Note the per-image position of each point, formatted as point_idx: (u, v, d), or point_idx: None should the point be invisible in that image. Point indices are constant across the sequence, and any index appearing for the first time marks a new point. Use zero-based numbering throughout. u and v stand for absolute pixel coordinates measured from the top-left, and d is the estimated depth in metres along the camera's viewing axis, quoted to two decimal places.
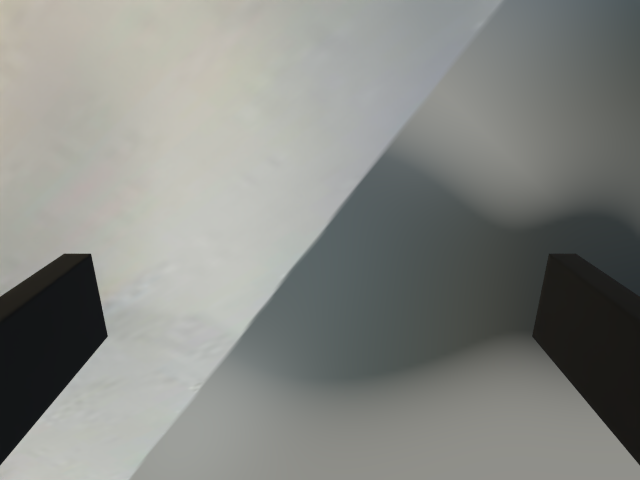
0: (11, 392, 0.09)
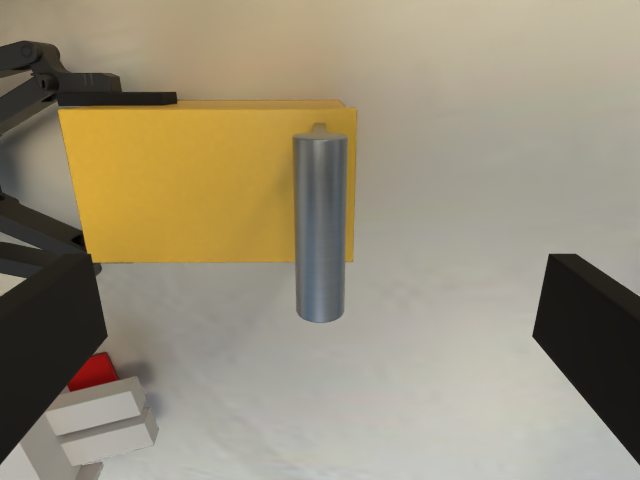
0: (11, 392, 0.09)
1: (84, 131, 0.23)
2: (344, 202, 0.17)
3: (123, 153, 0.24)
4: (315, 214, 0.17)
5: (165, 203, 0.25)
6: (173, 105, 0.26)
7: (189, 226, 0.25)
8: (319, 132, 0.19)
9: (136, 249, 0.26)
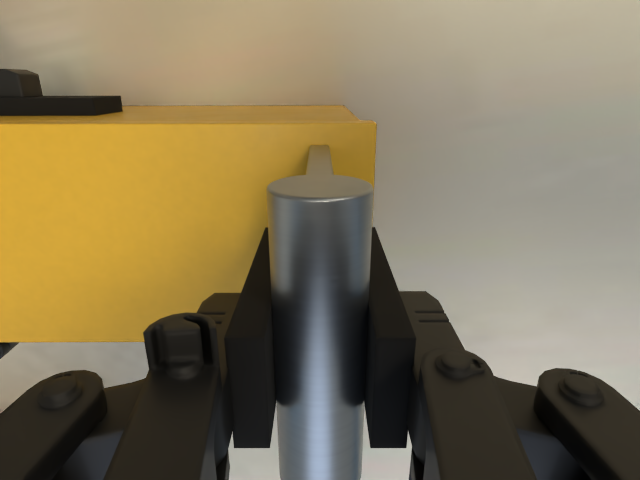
0: None
1: None
2: (365, 307, 0.09)
3: (23, 189, 0.16)
4: (311, 335, 0.09)
5: (91, 261, 0.17)
6: (110, 115, 0.18)
7: (129, 293, 0.17)
8: (318, 168, 0.11)
9: (54, 323, 0.18)
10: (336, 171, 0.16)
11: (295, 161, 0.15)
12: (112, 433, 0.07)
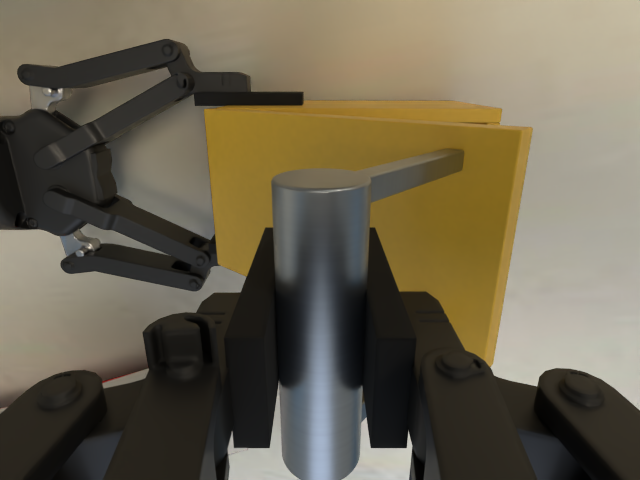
0: None
1: (219, 133, 0.22)
2: (341, 304, 0.09)
3: (245, 160, 0.21)
4: (284, 310, 0.10)
5: None
6: (309, 105, 0.26)
7: None
8: (382, 167, 0.11)
9: (249, 263, 0.24)
10: (470, 179, 0.14)
11: None
12: (112, 433, 0.07)
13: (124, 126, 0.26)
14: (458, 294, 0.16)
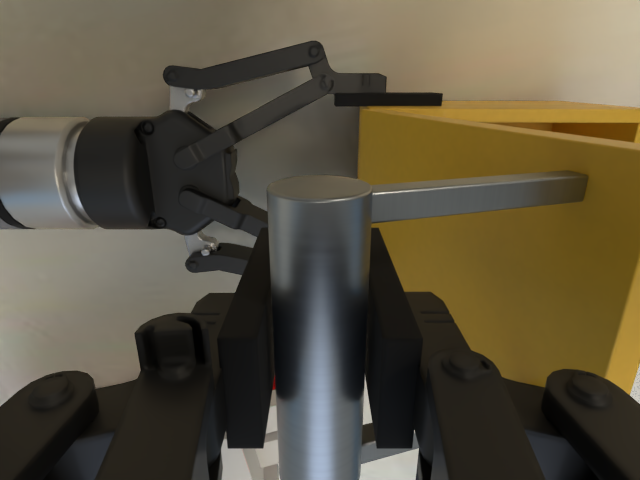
0: None
1: (369, 134, 0.22)
2: (312, 321, 0.09)
3: (384, 162, 0.21)
4: (272, 312, 0.10)
5: (399, 229, 0.20)
6: (449, 106, 0.26)
7: (410, 267, 0.20)
8: (423, 184, 0.10)
9: None
10: (591, 214, 0.11)
11: None
12: (103, 434, 0.07)
13: (263, 127, 0.27)
14: (561, 360, 0.12)
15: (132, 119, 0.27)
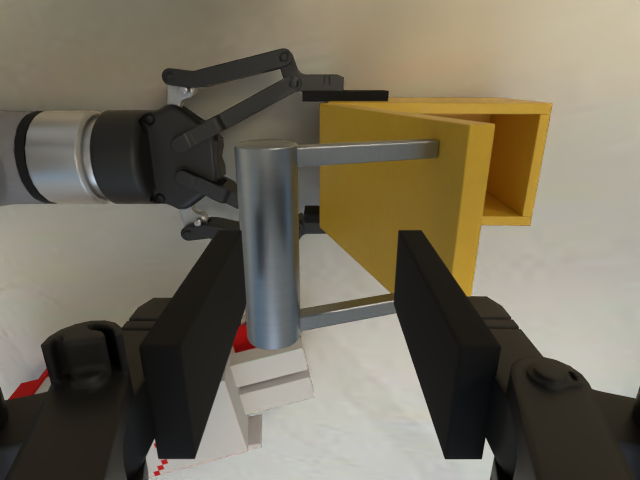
0: (219, 337, 0.11)
1: (325, 122, 0.29)
2: (261, 223, 0.15)
3: None
4: None
5: (346, 195, 0.27)
6: None
7: (353, 222, 0.26)
8: (331, 144, 0.16)
9: (333, 228, 0.29)
10: (442, 165, 0.17)
11: None
12: (4, 448, 0.06)
13: (243, 118, 0.33)
14: None
15: (137, 112, 0.33)
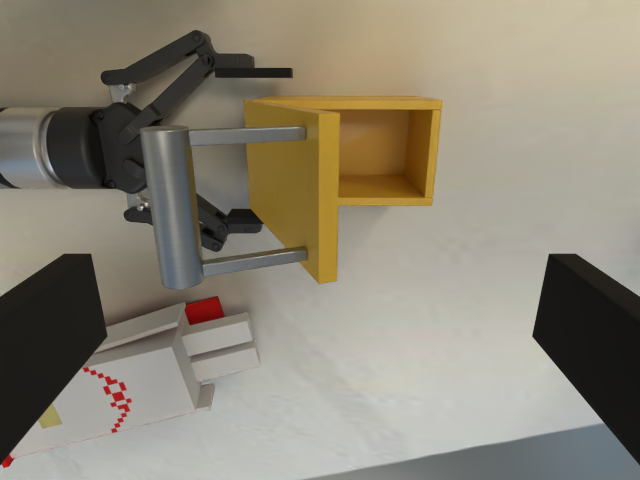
0: (11, 392, 0.09)
1: (248, 116, 0.33)
2: (161, 187, 0.20)
3: None
4: None
5: (263, 177, 0.32)
6: None
7: (268, 199, 0.31)
8: (218, 129, 0.21)
9: (257, 207, 0.34)
10: (308, 145, 0.22)
11: None
12: None
13: (173, 101, 0.38)
14: (309, 224, 0.23)
15: (88, 108, 0.38)
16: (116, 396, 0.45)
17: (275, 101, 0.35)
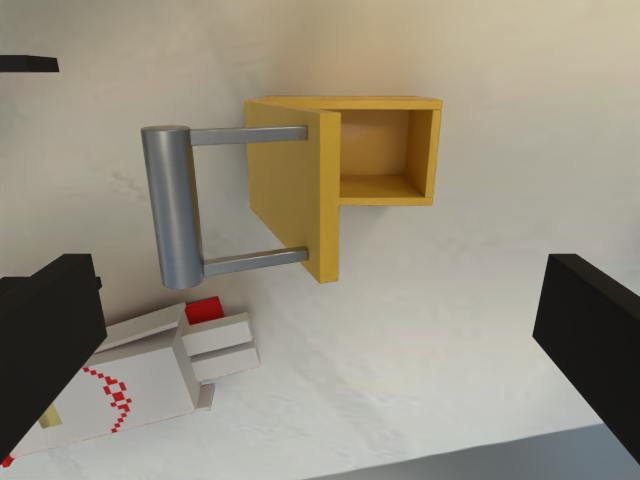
0: (11, 392, 0.09)
1: (248, 116, 0.33)
2: (163, 187, 0.20)
3: None
4: None
5: (263, 177, 0.32)
6: None
7: (269, 199, 0.31)
8: (219, 128, 0.21)
9: (258, 207, 0.34)
10: (309, 145, 0.22)
11: None
12: None
13: None
14: (310, 224, 0.23)
15: None
16: (116, 396, 0.45)
17: (275, 101, 0.35)
